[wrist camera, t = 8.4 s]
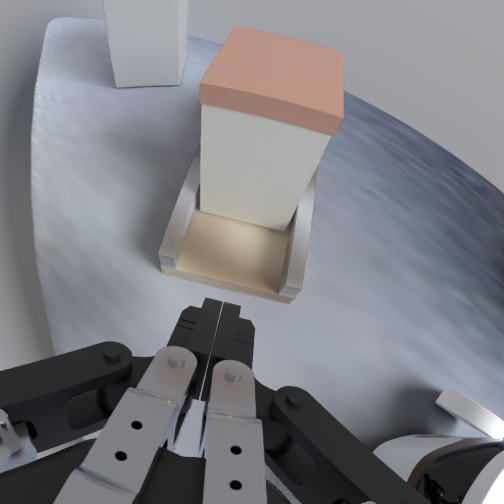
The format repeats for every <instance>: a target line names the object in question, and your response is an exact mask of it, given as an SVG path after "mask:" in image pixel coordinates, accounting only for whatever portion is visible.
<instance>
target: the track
mask: <svg viewBox="0 0 504 504" xmlns="http://www.w3.org/2000/svg"><path fill="white" fill-rule="evenodd" d="M200 157H201V142H200V144H199V147H198V149H197V152H196V154H195V156H194V159H193V161H192V164H191V166H190V169H189V171H188V174H187V176H186V179H185V181H184V184H183V186H182V189H181V191H180V194H179V197H178V199H177V202H176V205H175V207H174V210H173V213H172V215H171V218H170V221H169V224H168V226H167V229H166V232H165V235H164V238H163V240H162V243H161V246H160V249H159V252H158V256H159V259H160V262H161V265H160V266H161V269H162V271H163V273H165V274H168V275H172V276H176V277H180V278H184V279H188V280H191V281H195V282H199V283H203V284H207V285H211V286H215V287H219V288H223V289H228V290H232V291H236V292H240V293H244V294H248V295H253V296H257V297H261V298H265V299H270V300H274V301H279V302H283V303H287V304H289V303H290V302H291V301H292V300H293V299H294V298H295V296H296V295H297V293H298V292H299V291H300V290H301V289H302V284H303V277H304V271H305V264H306V257H307V250H308V243H309V235H310V228H311V220H312V212H313V204H314V196H315V187H316V178H317V169H318V165H317V167H316V169H315V171H314V173H313V175H312V177H311V179H310V181H309V183H308V185H307V187H306V189H305V192H304V194H303V196H302V198H301V200H300V202H299V204H298V206H297V208H296V210H295V212H294V214H293V216H292V218H291V220H290V222H289V224H288V226H287V228H286V230H285V232H284V231H280V230H276V229H272V228H268V227H264V226H260V225H256V224H252V223H248V222H244V221H240V220H235V219H231V218H227V217H223V216H219V215H215V214H211V213H206V212H202V211H200Z"/></svg>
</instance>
